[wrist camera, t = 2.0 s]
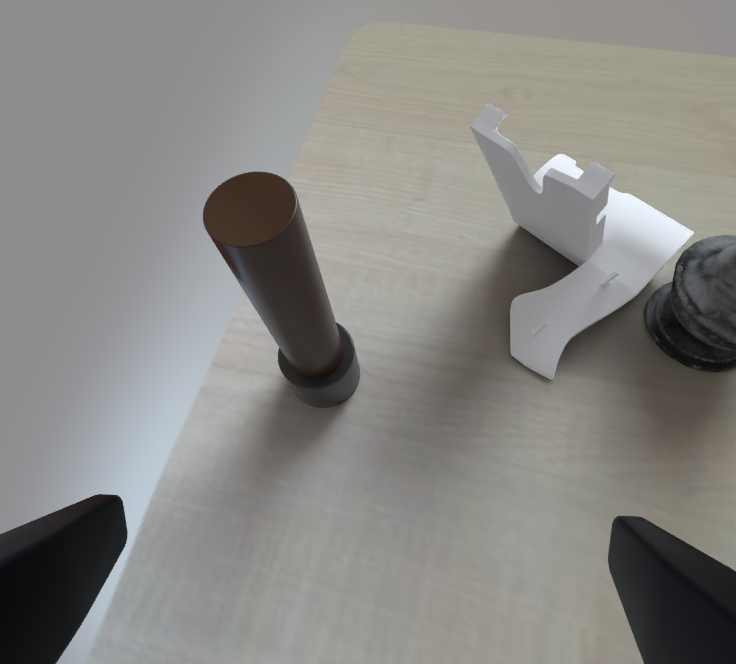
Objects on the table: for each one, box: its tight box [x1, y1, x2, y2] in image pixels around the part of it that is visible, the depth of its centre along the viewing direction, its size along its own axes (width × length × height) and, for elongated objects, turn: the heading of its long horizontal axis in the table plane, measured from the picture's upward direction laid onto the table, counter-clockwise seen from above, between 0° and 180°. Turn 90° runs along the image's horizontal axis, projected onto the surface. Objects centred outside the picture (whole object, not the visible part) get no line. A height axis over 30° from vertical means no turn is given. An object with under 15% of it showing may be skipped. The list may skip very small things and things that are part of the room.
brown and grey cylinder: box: [203, 172, 360, 408], centre depth 18 cm, size 4×4×13 cm
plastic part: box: [471, 103, 694, 380], centre depth 20 cm, size 8×10×12 cm
